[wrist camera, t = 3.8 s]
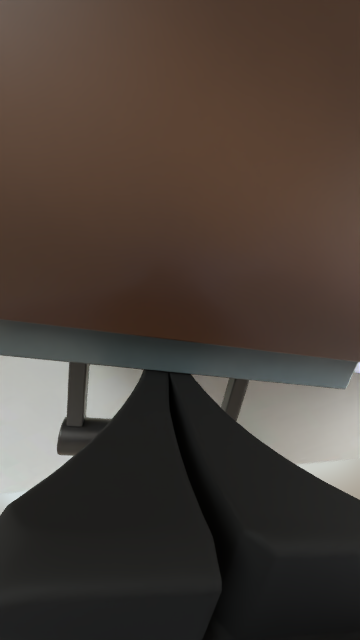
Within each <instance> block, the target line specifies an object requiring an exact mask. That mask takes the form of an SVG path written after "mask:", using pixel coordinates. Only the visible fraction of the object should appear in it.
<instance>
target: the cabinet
mask: <svg viewBox="0 0 360 640" xmlns="http://www.w3.org/2000/svg"><path fill="white" fill-rule="evenodd" d="M0 319H1V320H10V321H18V322H27V323H35V324H43V325H52V326H60V327H68V328H77V329H85V330H94V331H102V332H110V333H119V334H127V335H135V336H144V337H152V338H161V339H169V340H177V341H186V342H194V343H203V344H211V345H219V346H228V347H236V348H244V349H253V350H261V351H270V352H278V353H286V354H295V355H303V356H311V357H320V358H328V359H337V360H345V361H353V362H360V0H0Z"/></svg>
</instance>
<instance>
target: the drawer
mask: <svg viewBox="0 0 360 640" xmlns="http://www.w3.org/2000/svg"><path fill="white" fill-rule="evenodd" d="M0 355H3V356H14V357H24V358H34V359H44V360H54V361H64V362H69V380H68V403H67V417H65V419H64V420H63V423H62V425H61V429H60V432H59V437H58V443H57V453H58V454H59V455H72V456H74V455H76V454H77V453H78V452H79V451H80V450H82V449H83V448H84V447H85V446H86V445H87V444H88V443H89V442H90V441H91V440H92V439H94V438H95V437H96V436H97V435H98V433H99V432H100V431H101V430H102V429H103V428H104V427H105V426H106V425H107V424H108V423H109V422H110V421H111V420H112V419H103V418H88V417H86V406H87V393H88V379H89V366H90V364H94V365H105V366H115V367H125V368H135V369H145V370H155V371H165V372H175V373H185V374H196V375H206V376H216V377H226V378H229V381H228V385H227V388H226V392H225V395H224V399H223V402H222V406H221V408H222V409H223V410H224V411H225V412H226V413H227V414H228V415H229V416H230V417H231V418H232V419H234V420H235V421H237V418H238V415H239V412H240V408H241V405H242V402H243V399H244V396H245V392H246V389H247V386H248V383H249V380H256V381H266V382H276V383H287V384H297V385H307V386H317V387H327V388H337V389H346V388H347V386H348V384H349V382H350V379H351V377H352V375H353V373H354V371H355V369H356V367H357V364H358V362H353V361H345V360H337V359H328V358H320V357H311V356H303V355H295V354H286V353H278V352H270V351H261V350H253V349H244V348H236V347H228V346H219V345H211V344H203V343H194V342H186V341H177V340H169V339H161V338H152V337H144V336H135V335H127V334H119V333H110V332H102V331H94V330H85V329H77V328H68V327H60V326H52V325H43V324H35V323H27V322H18V321H10V320H1V319H0Z"/></svg>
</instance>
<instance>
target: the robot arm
mask: <svg viewBox="0 0 360 640" xmlns="http://www.w3.org/2000/svg"><path fill="white" fill-rule="evenodd" d="M354 372H356V373H360V362H358V364H357V367H356V369H355V371H354ZM0 640H360V500H359V499H357V498H355V497H353V496H351V495H349V494H347V493H345V492H343V491H341V490H339V489H337V488H336V487H334V486H332V485H330V484H328V483H326V482H324V481H322V480H321V479H319V478H317V477H315V476H314V475H312V474H310V473H309V472H307V471H305V470H304V469H302V468H300V467H299V466H297V465H295V464H294V463H292V462H291V461H289V460H287V459H286V458H284V457H283V456H281V455H280V454H278V453H277V452H275V451H274V450H273V449H271V448H270V447H268V446H267V445H265V444H264V443H263V442H261V441H260V440H258V439H257V438H256V437H254V436H253V435H252V434H250V433H249V432H248V431H247V430H246V429H244V428H243V427H242V426H241V425H240V424H238V423H237V422H236V421H235V420H234V419H232V418H231V417H230V416H229V415H228V414H227V413H226V412H225V411H224V410H223V409H222V408H221V407H220V406H219V405H218V404H217V403H216V402H215V401H214V400H213V399H212V398H211V397H210V396H209V395H208V394H207V393H206V392H205V391H204V390H203V388H202V387H201V386H200V385H199V384H198V383H197V382H196V380H195V379H194V378H193V377H192V376H191V374H185V373H175V372H165V371H155V370H145V369H144V371H143V373H142V376H141V378H140V380H139V382H138V383H137V385H136V387H135V389H134V390H133V392H132V393H131V395H130V396H129V398H128V399H127V401H126V402H125V404H124V405H123V406H122V408H121V409H120V410H119V411H118V413H117V414H116V415H115V416H114V417H113V419H112V420H111V421H110V422H109V423H108V424H107V425H106V426H105V427H104V428H103V429H102V430H101V431H100V432H99V433H98V435H97V436H96V437H95V438H94V439H92V440H91V441H90V442H89V443H88V444H87V445H86V446H85V447H84V448H83V449H82V450H80V451H79V452H78V453H77V454H76V455H74V456H73V457H72V458H71V459H70V460H68V461H67V462H66V463H65V464H64V465H63V466H61V467H60V468H59V469H58V470H56V471H55V472H54V473H52V474H51V475H50V476H48V477H47V478H46V479H44V480H43V481H41V482H40V483H39V484H37V485H36V486H34V487H33V488H32V489H30V490H29V491H27V492H26V493H25V494H23V495H22V496H20V497H19V498H18V499H16V500H15V501H13V502H12V503H10V504H9V505H8V506H7V507H6V508H5V510H4V511H3V512H2V514H1V515H0Z"/></svg>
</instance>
